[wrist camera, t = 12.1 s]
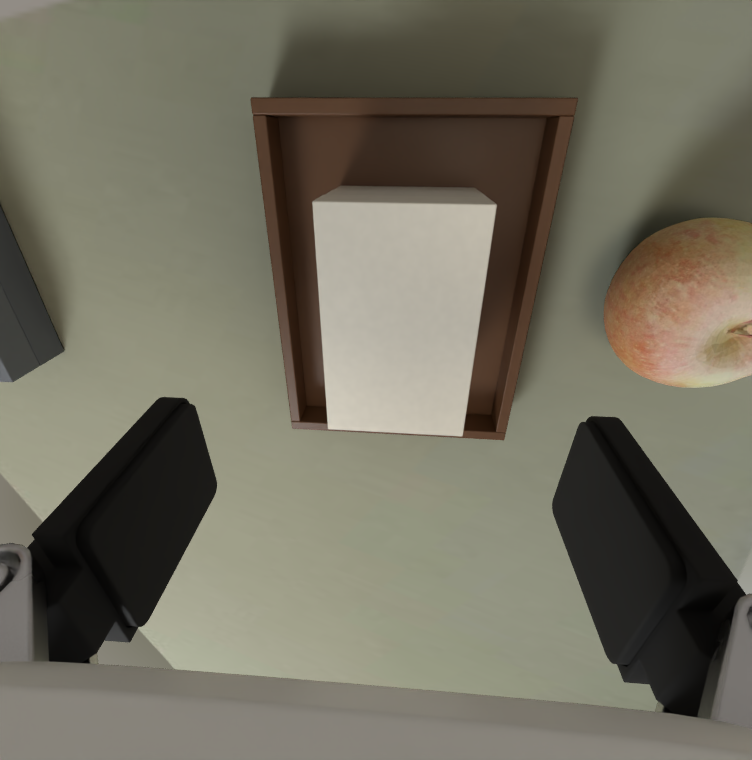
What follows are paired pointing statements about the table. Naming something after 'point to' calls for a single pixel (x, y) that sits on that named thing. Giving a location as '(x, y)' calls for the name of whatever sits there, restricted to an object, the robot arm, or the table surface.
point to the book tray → (413, 169)
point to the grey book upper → (13, 345)
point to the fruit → (685, 304)
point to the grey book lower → (25, 298)
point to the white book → (400, 308)
